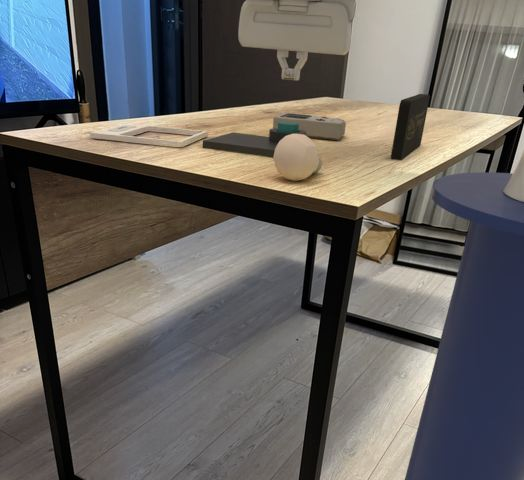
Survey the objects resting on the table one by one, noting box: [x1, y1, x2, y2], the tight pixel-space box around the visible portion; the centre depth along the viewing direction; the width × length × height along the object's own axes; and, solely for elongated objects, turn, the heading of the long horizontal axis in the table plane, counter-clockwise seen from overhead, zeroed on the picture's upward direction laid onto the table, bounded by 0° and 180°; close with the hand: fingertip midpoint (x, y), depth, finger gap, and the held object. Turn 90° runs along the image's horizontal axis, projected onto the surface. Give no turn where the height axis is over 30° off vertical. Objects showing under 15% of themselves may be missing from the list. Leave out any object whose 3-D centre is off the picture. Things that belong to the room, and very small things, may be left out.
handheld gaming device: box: [272, 112, 347, 141], centre depth 117 cm, size 9×15×4 cm, turn 73°
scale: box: [202, 127, 306, 158], centre depth 101 cm, size 16×14×3 cm
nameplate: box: [390, 93, 431, 161], centre depth 104 cm, size 21×2×10 cm, turn 156°
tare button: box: [277, 122, 299, 133], centre depth 102 cm, size 4×4×2 cm
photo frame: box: [89, 122, 209, 148], centre depth 104 cm, size 15×1×18 cm
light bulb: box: [272, 134, 323, 182], centre depth 80 cm, size 7×7×11 cm
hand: (290, 79), depth 98 cm, fingers closed
